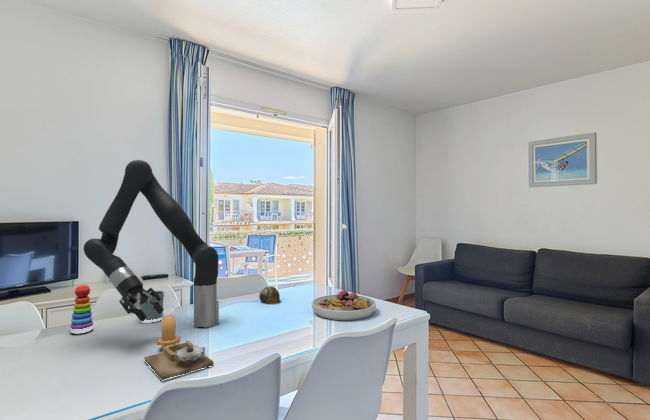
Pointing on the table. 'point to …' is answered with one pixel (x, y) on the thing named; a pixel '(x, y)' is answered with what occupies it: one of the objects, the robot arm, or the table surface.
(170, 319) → the orange gear spindle
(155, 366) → the gear board
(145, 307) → the grey cup
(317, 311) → the bowl
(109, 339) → the table surface
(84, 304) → the stacking toy
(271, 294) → the seashell
